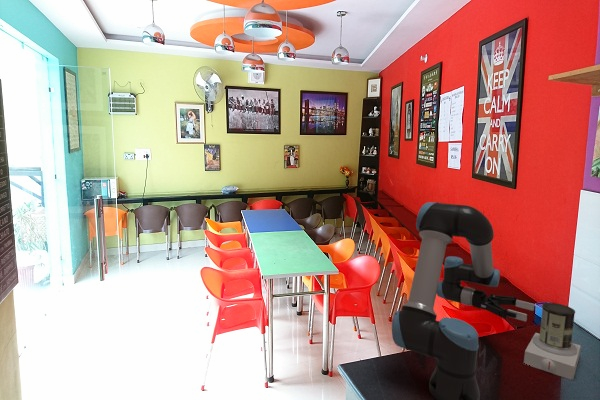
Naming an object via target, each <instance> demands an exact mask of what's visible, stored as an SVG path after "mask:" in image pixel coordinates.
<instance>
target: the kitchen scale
mask: <svg viewBox="0 0 600 400" xmlns="http://www.w3.org/2000/svg"><path fill="white" fill-rule="evenodd" d="M539 338H540V332H539V333H538V332H535V333H534V335H533V336H532V337H531V340H530V342H529V343H528V345H527V347H526V349H525V351H524V358H523V364H524V363H525V364H524V365H526V364H527V365H526V366H529V365H530V366H529V367H532V368H535V369H538V370H541V371H544V372H547V373H550V374H553V375H556V376H559V377H562V378H564V379H567V380H570V381H574V379H575V378H574V377H575V375H576V371H577V367H578V363H579V359H580V355H581V345H580V344H577V343H573V342H571V348H570V349H568V350H560V349H554V348H551V347H548V346H546V345H544V344H543V343H541V342H540V341H539Z"/></svg>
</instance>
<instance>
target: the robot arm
mask: <svg viewBox="0 0 600 400" xmlns="http://www.w3.org/2000/svg"><path fill="white" fill-rule="evenodd" d="M415 227H416V230H417V231H418V232H419V233H418V236H419V237H420V238H421V243H420V249H419V253H418V255H417V260H416V265H415V269H414V274H413V278H412V281H411V282H412V283H411V287H410V291H409V296H408V300H407V302H406V303H404V304H402V306H401V310H396V311H395V312H394V315H393V317H392V323H391V335H392V340H393V342H394V344H395V345H396V346H398V347H400V348H402V349H405V350H406V351H411V352H415V353H416V354H420V355H424V356H427V357H429V358H433V359H435V360H436V364H435V365H436V366H435V368H434V371H433V372H432V374H431V376H430V378H429V381H428V382H429V383H428V390H429V392H430V394H431V395H432V397H433V398H435V400H480V397H481V393H480V392H481V391H480V388H479V384H478V381H477V376H476V370H477V362H478V352H479V351H478V350H479V347H480V345H479V333H478V332H477V330H476V329H475V327H474V326H473V325H471V324H469V323H468V322H466V321H464V320H462V319H459V318H455V317H449V316H448V317H447V316H445V317H443V318H440V320H437V313H436V312H435V310H434V307H435V302H436V298H437V296H438V297H439V298H441V299H444V300H447V301H451V302H455V303H458V304H463V305H465V306H472V307H473V308H477V309H482V310H484V311H488V312H489V313H491V314H494V315H496V316H498V317H500V318H503V319H507V317H508V318H511V319H515V320H519V321H522V322H525V323H526V322H527V320H528V314H527V313H523V312H519V311H516V310H513V309H509V308H508V309H506V308H505V307H502V306H515V307H518V308H521V309H524V310H528V311H532V312H534V311H535V303H531V302H528V301H523V300H520V299H518V297H517V296H507V295H498V294H492V293H490V296H487V294H486V291H484V290H481V289H480V290H479V289H475V288H473V287H469V286H464V285H462V282H466V283H473V284H478V285H482V286H486V287H493V288H497V287H498V286H499V284H500V279H501V278H500V277H501V276H500V275H501V271H500V270H499V269H496V268H494V260H493V251H492V249H493V248H492V246H493V245H492V241H493V239H494V236H495V235H494V228H493V225H492V224H491V222H490V220H489V219H488V217H486V215H485V214H484V213H482V211H480V210H479V209H477V208H475V207H473V206H471V205H467V204H453V203H444V202H438V201H437V202H436V201H434V202H431V201H429V202H425V203H424V204H422V206H421V207H420V209H419V210H418V214H417V216H416V222H415ZM453 237H456V238H457V237H458V238H464V239H465V240H466V242H468V244H469V250H470V256H471V261H472V262H471V263H472V264H469V263H464V259H463V258H461V257H459V256H453V255H451V256H449V255H448V256H446V258H445V254H446V250H447V249H446V248H447V245H449V244H451V243H452V242H453ZM444 259H445V260H444ZM443 264H444V265H443ZM442 268H443V278H442V280H440V279H441V274H442Z"/></svg>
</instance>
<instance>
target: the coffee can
mask: <svg viewBox="0 0 600 400" xmlns="http://www.w3.org/2000/svg"><path fill="white" fill-rule="evenodd" d="M541 306H542V308H541V309H542V310H541V319H540V320H541V321H540V327H539V329H540V330H539V334H540V338H539V341H540V342H541V343H543V344H544V345H546V346H548V347H551V348H554V349H560V350H568V349H570V348H571V343H572V338H573V331H574V330H573V329H574V320H575V314H576V310H575V309H574V308H572V307H570V306H568V305H564V304H561V303H555V302H545V303H543V304H542V305H541Z"/></svg>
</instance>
